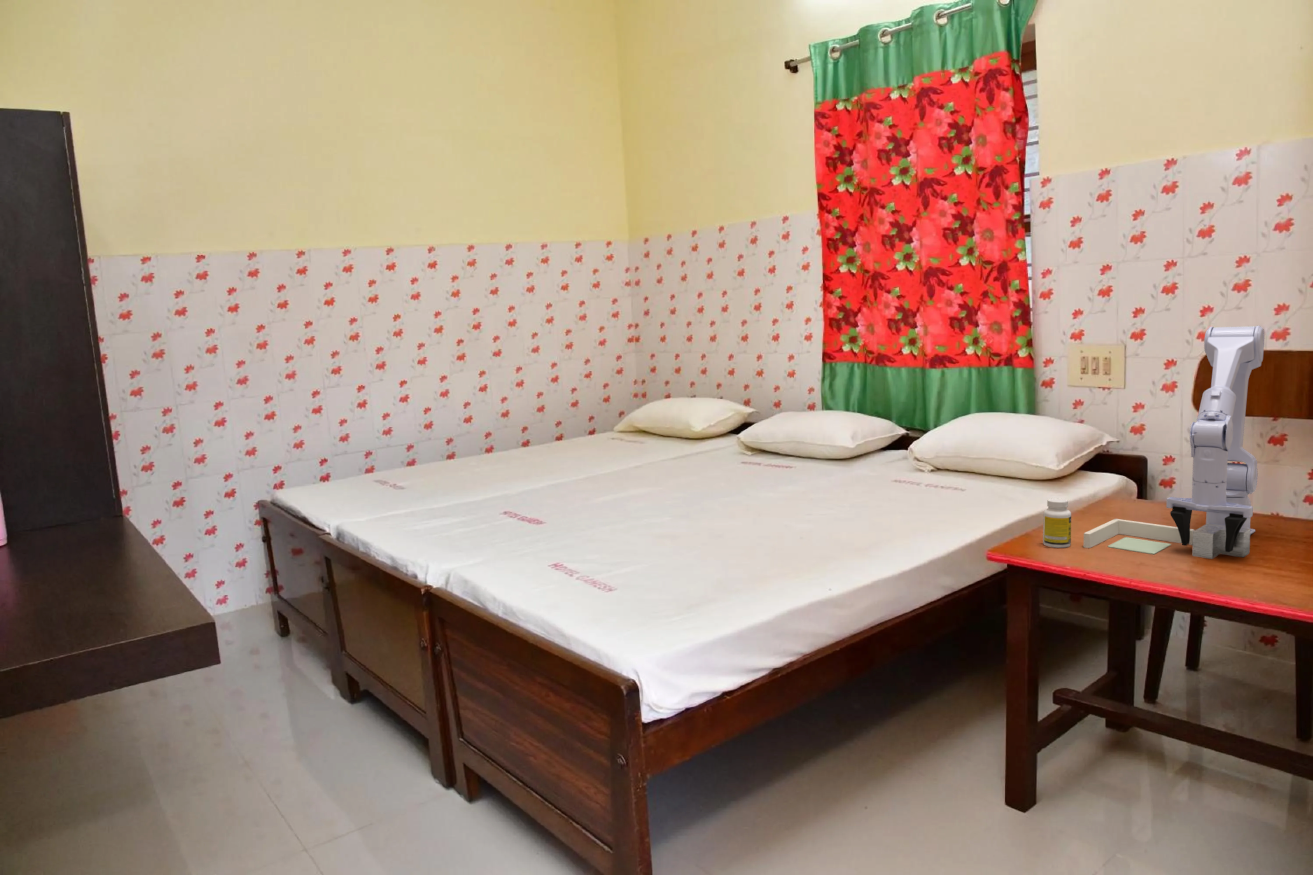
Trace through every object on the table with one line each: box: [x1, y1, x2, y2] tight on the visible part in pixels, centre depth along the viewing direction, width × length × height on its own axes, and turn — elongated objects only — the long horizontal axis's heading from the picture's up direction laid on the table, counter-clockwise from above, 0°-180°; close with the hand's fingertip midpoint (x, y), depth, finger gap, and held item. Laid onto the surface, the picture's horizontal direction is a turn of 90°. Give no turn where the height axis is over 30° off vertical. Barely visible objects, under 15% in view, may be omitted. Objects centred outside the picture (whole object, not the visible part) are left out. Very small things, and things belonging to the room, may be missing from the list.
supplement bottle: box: [1042, 497, 1072, 549], centre depth 186 cm, size 5×5×10 cm
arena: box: [1083, 518, 1195, 549], centre depth 182 cm, size 16×16×3 cm
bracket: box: [1191, 523, 1251, 560], centre depth 173 cm, size 8×8×5 cm
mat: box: [1107, 536, 1172, 555], centre depth 182 cm, size 9×9×1 cm
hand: (1206, 547), depth 174 cm, fingers open, 7 cm apart
